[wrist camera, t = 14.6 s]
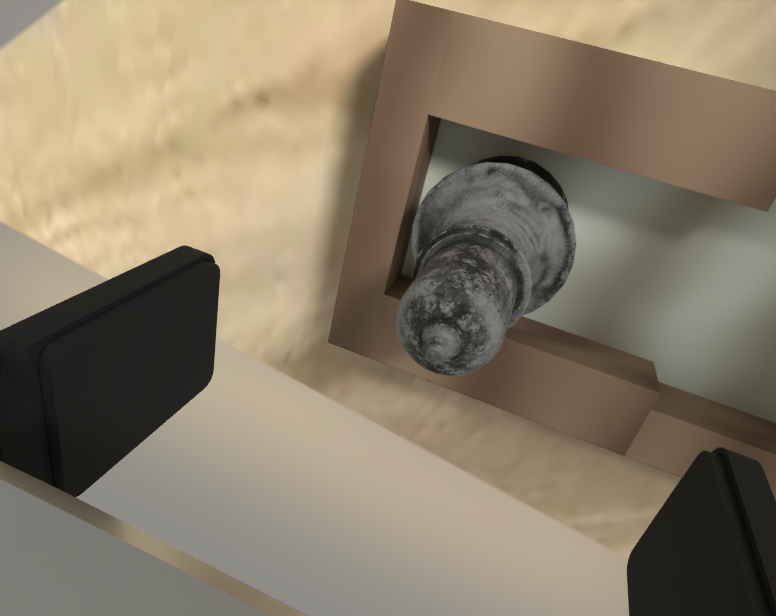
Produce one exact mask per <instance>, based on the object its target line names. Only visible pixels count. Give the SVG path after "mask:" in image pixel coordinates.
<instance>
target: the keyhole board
mask: <svg viewBox="0 0 776 616" xmlns="http://www.w3.org/2000/svg"><path fill="white" fill-rule="evenodd" d="M500 155H501V156H518V157H521V158H524V159H527V160H530V161H533V162H535V163H537V164H538V165H540V166H541V167H543V168H544V169H546V170H547V171H548V172H550V173H551V175H552V176H553V177H554V178H555V179H556V181H557V182H558V183H559V184H560V185H561V188H562V190H563V192H564V194H565V197H566V199H567V201H568V209H569V212H570V215H571V217H572V219H573V221H574V228H575V236H576V250H575V256H574V263H573V267H572V269H571V271H570V273H569V275H568V277H567V279H566V281H565V284H564V285H563V286H562V288H561V289H560V290H559V291H558V292H557V293H556V294H555V296H554V297H553V298H552V299H551V300H550V301H549V302H547V303H546V304H544V305H543V306H541V307H540V308H538V309H537V310H535V311H534V312H531V313H528V314H525V315H523V316H521V317H520V318H519V319H518V321H517V322H516V323H515V324H514V325H513V326H511V327H510V328H508V329H507V332H506V335H505V338H504V341H503V343H502V345H501V347H500V350H499V351H498V352H497V353H496V355H495V356H494V357H493V358H492V359H491V360H490V362H489V363H488V364H487V365H485V366H483V367H482V368H480V369H479V370H477V371H475V372H472V373H469V374H466V375H460V376H447V375H441V374H437V373H434V372H432V371H429V370H427V369H425V368H423V367H422V366H421V365H419V364H418V363H416V362H415V361H414V360H413V359H412V358H411V357H410V356H409V355H408V353H407V352H406V351H405V349H404V347H403V345H402V344H401V342H400V340H399V336H398V332H397V328H396V327H397V312H398V308H399V305H400V302H401V298H402V297H403V295H404V294H405V292H406V291H407V289H408V288H409V286H410V285H411V284H412V282H413V269H414V266H415V261H414V257H413V253H412V248H411V241H412V226H413V222H414V219H415V216H416V212H417V209H418V207H419V206H420V204H421V203H422V201H423V199H424V198H425V196H426V195H427V193H428V191H429V190H431V189H432V188H433V187H434V186H435V185H436V184H437V183H438V182H439V181H440V180H441V179H443V178H444V177H445V176H447V175H449V174H451V173H453V172H455V171H457V170H459V169H461V168H462V167H465V166H470V165H472V164H474V163H476V162H478V161H480V160H482V159H486V158H491V157H495V156H500ZM328 342H329V343H331V344H334V345H336V346H339V347H342V348H344V349H347V350H349V351H352V352H355V353H357V354H360V355H362V356H365V357H368V358H370V359H373V360H376V361H378V362H381V363H383V364H386V365H389V366H391V367H394V368H396V369H399V370H402V371H404V372H407V373H409V374H412V375H415V376H417V377H420V378H422V379H425V380H428V381H430V382H433V383H436V384H438V385H441V386H443V387H446V388H449V389H451V390H454V391H456V392H459V393H462V394H464V395H467V396H469V397H472V398H475V399H477V400H480V401H482V402H485V403H488V404H490V405H493V406H496V407H498V408H501V409H503V410H506V411H509V412H511V413H514V414H516V415H519V416H522V417H524V418H527V419H529V420H532V421H535V422H537V423H540V424H542V425H545V426H548V427H550V428H553V429H556V430H558V431H561V432H563V433H566V434H569V435H571V436H574V437H576V438H579V439H582V440H584V441H587V442H589V443H592V444H595V445H597V446H600V447H602V448H605V449H608V450H610V451H613V452H615V453H618V454H621V455H623V456H626V457H629V458H631V459H634V460H636V461H639V462H642V463H644V464H647V465H649V466H652V467H655V468H657V469H660V470H662V471H665V472H668V473H670V474H673V475H675V476H678V477H681V478H682V477H683V476H684V474H685V473H686V471H687V470H688V469H689V467H690V466H691V464H692V463H693V461H694V460H695V458H696V457H697V456H698V454H699V453H700V452H702V451H704V450H706V451H709V452H712V451H713V450H715V449H716V448H718V447H723V448H725V449H728V450H731V451H733V452H736V453H739V454H741V455H744V456H747V457H749V458H752V459H755V460H757V461H759V462H760V464H761V465H762V467H763V470H764V472H765V475H766V477H767V480H768V482H769V485H770V487H771V490H772V492H773V495H774V497H775V500H776V91H773V90H769V89H765V88H761V87H757V86H753V85H749V84H745V83H741V82H737V81H733V80H729V79H725V78H720V77H716V76H712V75H708V74H704V73H700V72H696V71H692V70H688V69H684V68H680V67H676V66H672V65H668V64H664V63H660V62H656V61H652V60H648V59H644V58H640V57H636V56H632V55H628V54H624V53H620V52H616V51H612V50H608V49H604V48H599V47H595V46H591V45H587V44H583V43H579V42H575V41H571V40H567V39H563V38H559V37H555V36H551V35H547V34H543V33H539V32H535V31H531V30H527V29H523V28H519V27H515V26H511V25H507V24H503V23H499V22H495V21H491V20H487V19H483V18H478V17H474V16H470V15H466V14H462V13H458V12H454V11H450V10H446V9H442V8H438V7H434V6H430V5H426V4H422V3H418V2H414V1H410V0H396V3H395V8H394V13H393V18H392V23H391V28H390V33H389V38H388V43H387V48H386V53H385V58H384V63H383V68H382V73H381V78H380V83H379V88H378V93H377V98H376V103H375V108H374V113H373V118H372V123H371V128H370V134H369V139H368V144H367V149H366V154H365V159H364V164H363V169H362V174H361V179H360V184H359V189H358V194H357V199H356V204H355V209H354V214H353V219H352V224H351V229H350V234H349V239H348V244H347V249H346V254H345V259H344V264H343V269H342V274H341V279H340V284H339V289H338V294H337V299H336V304H335V309H334V315H333V320H332V325H331V330H330V335H329V340H328Z"/></svg>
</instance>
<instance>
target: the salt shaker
mask: <svg viewBox="0 0 776 616" xmlns="http://www.w3.org/2000/svg"><path fill="white" fill-rule="evenodd" d="M411 248H412V253H413V257H414V261H415V266H414V269H413V282H412V284H411V285H410V286H409V288H408V289H407V291H406V292H405V294H404V295H403V297H402V298H401V302H400V305H399V308H398V312H397V327H396V328H397V332H398V336H399V340H400V342H401V344H402V345H403V347H404V349H405V351H406V352H407V353H408V355H409V356H410V357H411V358H412V359H413V360H414V361H415V362H416V363H418V364H419V365H421V366H422V367H423V368H425V369H427V370H429V371H432V372H434V373H437V374H441V375H447V376H460V375H466V374H469V373H472V372H475V371H477V370H479V369H480V368H482V367H483V366H485V365H487V364H488V363H489V362H490V360H491V359H492V358H493V357H494V356H495V355H496V353H497V352H498V351H499V350H500V347H501V345H502V343H503V341H504V338H505V335H506V332H507V329H508V328H510V327H511V326H513V325H514V324H515V323H516V322H517V321H518V319H519V318H520V317H521V316H523V315H525V314H528V313H531V312H534V311H535V310H537V309H538V308H540V307H541V306H543V305H544V304H546V303H547V302H549V301H550V300H551V299H552V298H553V297H554V296H555V294H556V293H557V292H558V291H559V290H560V289H561V288H562V286H563V285H564V284H565V281H566V279H567V277H568V275H569V273H570V271H571V269H572V267H573V263H574V256H575V250H576V236H575V228H574V221H573V219H572V217H571V215H570V212H569V209H568V201H567V199H566V197H565V194H564V192H563V190H562V188H561V185H560V184H559V183H558V182H557V181H556V179H555V178H554V177H553V176H552V175H551V173H550V172H548V171H547V170H546V169H544V168H543V167H541V166H540V165H538V164H537V163H535V162H533V161H530V160H527V159H524V158H521V157H518V156H501V155H500V156H495V157H491V158H486V159H482V160H480V161H478V162H476V163H474V164H472V165H470V166H465V167H462V168H461V169H459V170H457V171H455V172H453V173H451V174H449V175H447V176H445V177H444V178H443V179H441V180H440V181H439V182H438V183H437V184H436V185H435V186H434V187H433V188H432V189H431V190H429V191H428V193H427V195H426V196H425V198H424V199H423V201H422V203H421V204H420V206H419V207H418V209H417V212H416V216H415V219H414V222H413V226H412V241H411Z"/></svg>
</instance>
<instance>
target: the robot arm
mask: <svg viewBox="0 0 776 616" xmlns="http://www.w3.org/2000/svg"><path fill="white" fill-rule="evenodd" d="M219 282H220V269H219V266H218V265H217V264H215V260H214V258H213V256H212V255H210V254H208V253H205V252H202V251H200V250H197V249H194V248H192V247H189V246H185V245H184V246H180V247H178V248H176V249H174V250H172V251H170V252H167V253H165V254H163V255H161V256H159V257H157V258H155V259H152V260H150V261H148V262H146V263H144V264H142V265H140V266H138V267H135V268H133V269H131V270H129V271H127V272H125V273H123V274H120V275H118V276H116V277H114V278H112V279H110V280H108V281H105V282H103V283H101V284H99V285H97V286H95V287H93V288H91V289H88V290H86V291H84V292H82V293H80V294H78V295H75V296H73V297H71V298H69V299H67V300H65V301H63V302H61V303H58V304H56V305H54V306H52V307H50V308H48V309H46V310H44V311H41V312H39V313H37V314H35V315H33V316H31V317H28V318H26V319H24V320H22V321H20V322H18V323H16V324H13V325H12V326H10V327H7V328H5V329H3V330H1V331H0V616H309V615H307V614H305V613H303V612H301V611H299V610H297V609H295V608H293V607H291V606H289V605H287V604H285V603H283V602H281V601H279V600H277V599H275V598H274V597H272V596H269V595H268V594H266V593H264V592H262V591H260V590H258V589H256V588H254V587H252V586H250V585H248V584H246V583H244V582H242V581H240V580H238V579H236V578H234V577H232V576H230V575H228V574H226V573H224V572H222V571H220V570H218V569H216V568H214V567H212V566H210V565H208V564H206V563H204V562H202V561H201V560H199V559H197V558H195V557H193V556H191V555H189V554H187V553H185V552H183V551H181V550H179V549H177V548H175V547H173V546H171V545H169V544H167V543H165V542H163V541H161V540H159V539H157V538H155V537H153V536H151V535H149V534H147V533H145V532H143V531H141V530H139V529H137V528H135V527H133V526H131V525H129V524H127V523H125V522H123V521H121V520H119V519H117V518H115V517H113V516H111V515H109V514H107V513H105V512H103V511H101V510H99V509H97V508H95V507H93V506H91V505H89V504H87V503H85V502H83V501H81V500H79V499H77V498H75V497H77V496H79V495H80V494H82V493H83V492H84V491H85V490H86V489H87V488H89V487H90V486H91V485H92V484H93V483H95V482H96V481H97V480H98V479H99V478H100V477H102V476H103V475H104V474H105V473H106V472H107V471H109V470H110V469H111V468H112V467H113V466H114V465H116V464H117V463H118V462H119V461H120V460H121V459H123V458H124V457H125V456H126V455H127V454H128V453H130V452H131V451H132V450H133V449H134V448H135V447H137V446H138V445H139V444H140V443H141V442H142V441H144V440H145V439H146V438H147V437H148V436H149V435H150V434H152V433H153V432H154V431H155V430H156V429H158V428H159V427H160V426H161V425H162V424H163V423H165V422H166V421H167V420H168V419H169V418H170V417H171V416H173V415H174V414H175V413H176V412H177V411H179V410H180V409H181V408H182V407H183V406H184V405H186V404H187V403H188V402H189V401H190V400H191V399H193V398H194V397H195V396H196V395H197V394H198V393H199V392H201V391H202V390H203V389H204V388H205V387H206V386H207V385H208V383H209V382H210V380H211V378H212V375H213V369H214V356H215V341H216V326H217V312H218V297H219ZM627 582H628V599H629V616H776V500H775V497H774V495H773V492H772V490H771V487H770V485H769V482H768V480H767V477H766V475H765V472H764V470H763V467H762V465H761V464H760V462H759V461H757V460H755V459H752V458H749V457H747V456H744V455H741V454H739V453H736V452H733V451H731V450H728V449H725V448H723V447H718V448H716V449H715V450H713V451H712V452H709V451H706V450H704V451H702V452H700V453H699V454H698V456H697V457H696V458H695V460H694V461H693V463H692V464H691V466H690V467H689V469H688V470H687V471H686V473H685V474H684V476H683V477H682V479H681V480H680V482H679V483H678V485H677V486H676V487H675V489H674V490H673V492H672V493H671V495H670V496H669V498H668V499H667V500H666V502H665V503H664V505H663V506H662V508H661V509H660V511H659V512H658V514H657V515H656V516H655V518H654V519H653V521H652V522H651V524H650V525H649V527H648V528H647V530H646V531H645V532H644V534H643V535H642V537H641V538H640V540H639V541H638V543H637V544H636V545H635V547H634V548H633V550H632V552H631V554H630V557H629V560H628V565H627Z"/></svg>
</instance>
